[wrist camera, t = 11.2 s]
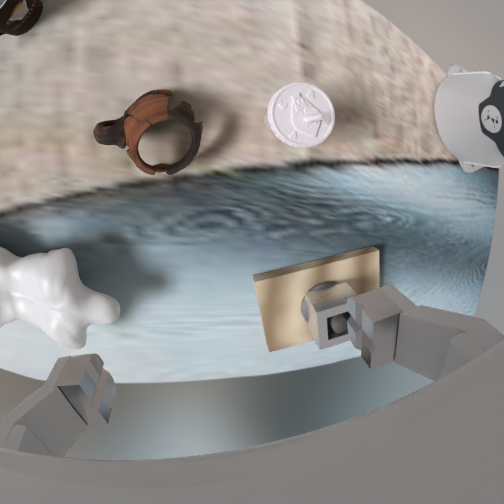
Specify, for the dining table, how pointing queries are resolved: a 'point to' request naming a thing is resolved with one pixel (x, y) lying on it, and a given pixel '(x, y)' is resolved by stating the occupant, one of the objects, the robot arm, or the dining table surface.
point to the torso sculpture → (52, 296)
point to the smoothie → (300, 115)
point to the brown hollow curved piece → (140, 119)
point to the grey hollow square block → (328, 313)
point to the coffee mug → (18, 15)
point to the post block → (305, 280)
